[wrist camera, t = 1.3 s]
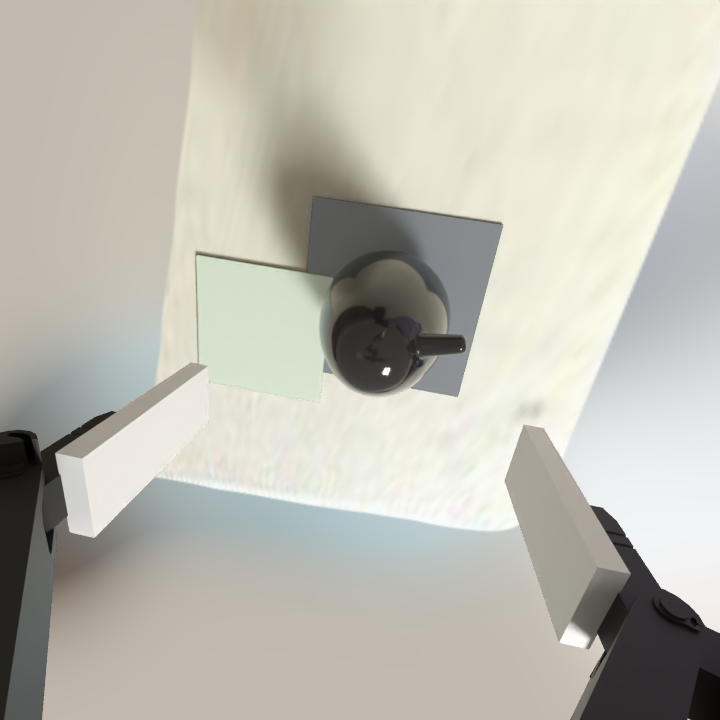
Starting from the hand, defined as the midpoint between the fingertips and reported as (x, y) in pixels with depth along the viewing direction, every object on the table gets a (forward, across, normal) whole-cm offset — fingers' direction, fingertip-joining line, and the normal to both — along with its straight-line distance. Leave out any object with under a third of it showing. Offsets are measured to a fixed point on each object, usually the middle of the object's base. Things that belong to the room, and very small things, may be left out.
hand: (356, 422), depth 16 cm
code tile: (+21, 0, 0) cm, 21 cm away
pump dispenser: (+21, 0, 0) cm, 21 cm away
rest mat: (+21, -12, -4) cm, 25 cm away
